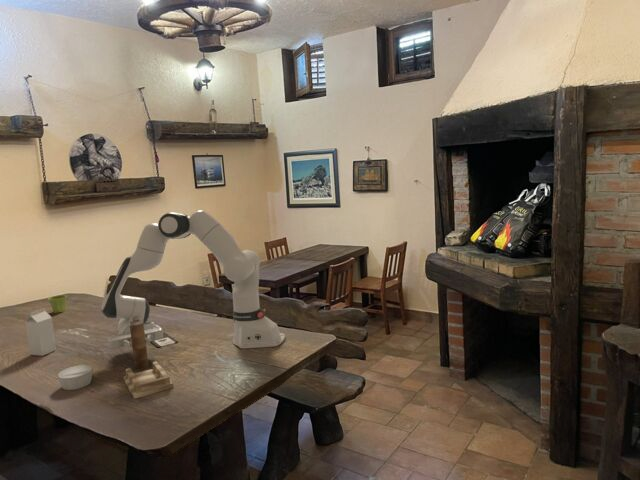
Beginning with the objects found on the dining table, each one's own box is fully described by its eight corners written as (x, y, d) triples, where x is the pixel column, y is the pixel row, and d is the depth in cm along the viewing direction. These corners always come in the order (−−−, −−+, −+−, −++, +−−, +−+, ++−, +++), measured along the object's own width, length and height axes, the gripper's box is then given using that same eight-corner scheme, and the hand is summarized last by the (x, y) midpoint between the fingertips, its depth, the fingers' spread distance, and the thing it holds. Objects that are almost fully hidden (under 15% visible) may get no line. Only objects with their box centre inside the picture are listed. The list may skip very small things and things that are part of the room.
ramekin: (70, 394, 161) (68, 380, 160) (53, 388, 167) (51, 374, 166) (100, 381, 171) (98, 367, 170) (82, 376, 176) (81, 362, 176)
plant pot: (57, 309, 277) (55, 295, 275) (72, 309, 275) (70, 294, 274) (46, 314, 267) (44, 299, 266) (61, 314, 266) (59, 299, 265)
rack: (124, 380, 170) (122, 370, 169) (160, 370, 177) (159, 360, 176) (134, 398, 155) (132, 387, 154) (173, 387, 162) (172, 376, 161)
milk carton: (56, 350, 206) (50, 308, 204) (42, 356, 200) (35, 313, 197) (44, 349, 209) (38, 308, 206) (30, 355, 202) (23, 312, 199)
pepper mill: (151, 364, 183) (145, 314, 180) (144, 369, 178) (137, 318, 176) (139, 364, 184) (133, 314, 181) (132, 369, 179) (125, 318, 177)
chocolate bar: (163, 332, 221) (178, 341, 207) (164, 333, 221) (178, 343, 207) (144, 336, 216) (157, 346, 201) (144, 338, 216) (157, 349, 201)
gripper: (104, 331, 185) (108, 341, 174) (157, 320, 196) (165, 329, 184) (106, 346, 186) (110, 357, 175) (159, 335, 197) (166, 344, 185)
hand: (139, 342), depth 179 cm, fingers closed on pepper mill, 5 cm apart
